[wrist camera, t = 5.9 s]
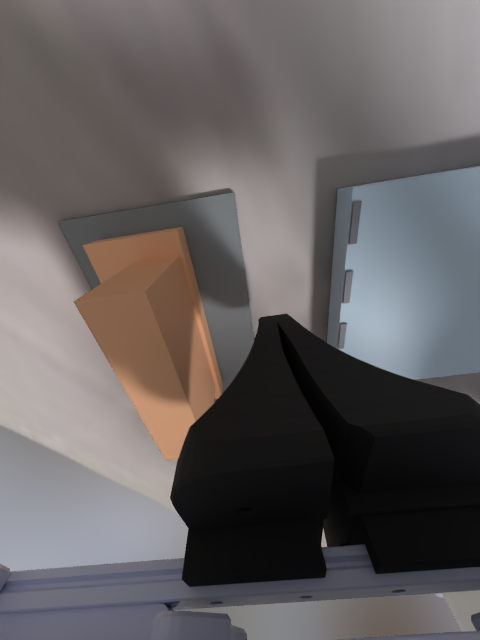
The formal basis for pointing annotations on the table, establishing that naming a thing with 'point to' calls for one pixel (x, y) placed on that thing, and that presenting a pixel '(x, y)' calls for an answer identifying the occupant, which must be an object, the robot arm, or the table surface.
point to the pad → (207, 259)
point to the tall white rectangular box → (464, 607)
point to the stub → (154, 330)
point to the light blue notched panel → (409, 274)
